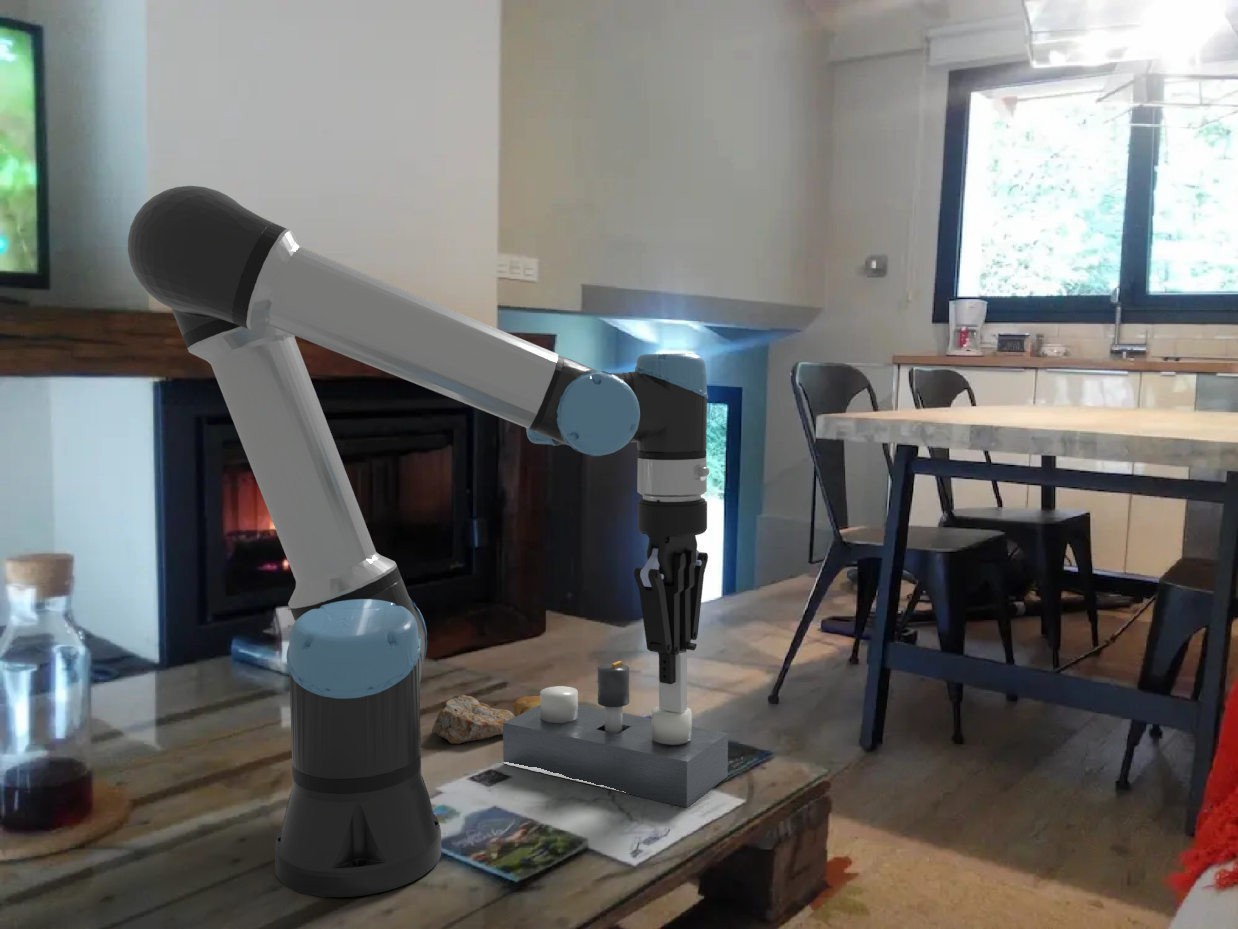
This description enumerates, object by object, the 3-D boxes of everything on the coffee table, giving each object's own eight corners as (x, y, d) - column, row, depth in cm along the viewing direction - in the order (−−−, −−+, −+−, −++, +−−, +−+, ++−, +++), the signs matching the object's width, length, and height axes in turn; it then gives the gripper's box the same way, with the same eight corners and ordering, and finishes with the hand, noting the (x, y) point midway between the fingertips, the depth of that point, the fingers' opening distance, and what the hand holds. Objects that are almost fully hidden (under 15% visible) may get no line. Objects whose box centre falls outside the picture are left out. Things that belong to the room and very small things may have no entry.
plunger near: (679, 787, 114) (680, 720, 113) (644, 779, 116) (644, 713, 115) (698, 774, 117) (698, 708, 117) (663, 767, 120) (663, 702, 119)
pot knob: (619, 748, 118) (618, 670, 117) (591, 742, 120) (591, 666, 119) (635, 738, 121) (635, 662, 120) (608, 733, 123) (608, 658, 122)
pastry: (500, 716, 140) (500, 688, 140) (546, 709, 143) (546, 681, 143) (528, 737, 132) (528, 707, 132) (576, 729, 135) (576, 700, 135)
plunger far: (564, 763, 121) (564, 699, 121) (533, 756, 124) (532, 693, 123) (585, 751, 125) (585, 689, 124) (554, 744, 127) (554, 684, 127)
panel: (727, 776, 119) (728, 733, 118) (686, 808, 110) (687, 761, 110) (552, 738, 131) (552, 699, 131) (503, 764, 122) (502, 722, 122)
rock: (429, 749, 128) (509, 735, 128) (423, 701, 129) (502, 686, 129) (448, 742, 137) (523, 729, 136) (442, 697, 138) (516, 683, 137)
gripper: (674, 505, 106) (675, 732, 108) (729, 492, 118) (729, 698, 120) (611, 501, 110) (613, 720, 112) (670, 488, 121) (671, 688, 123)
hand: (673, 709), depth 116 cm, fingers closed
